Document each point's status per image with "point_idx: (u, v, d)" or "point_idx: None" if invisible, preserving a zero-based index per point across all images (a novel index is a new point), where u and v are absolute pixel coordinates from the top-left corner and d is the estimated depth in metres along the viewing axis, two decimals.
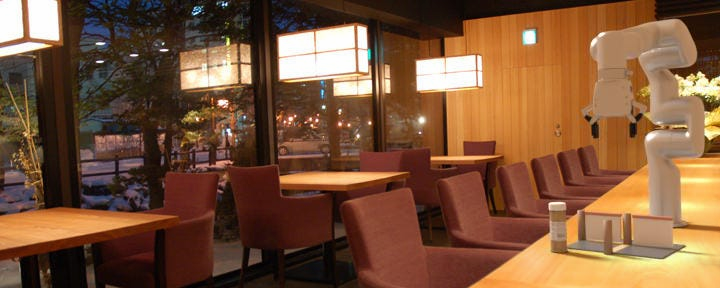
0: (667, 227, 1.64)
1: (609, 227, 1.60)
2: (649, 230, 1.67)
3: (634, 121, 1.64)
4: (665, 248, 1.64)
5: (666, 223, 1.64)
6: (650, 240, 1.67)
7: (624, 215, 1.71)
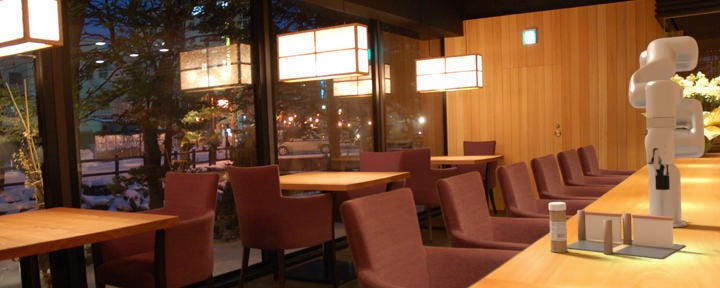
0: (667, 227, 1.64)
1: (609, 227, 1.60)
2: (649, 230, 1.67)
3: (668, 174, 1.71)
4: (665, 248, 1.64)
5: (666, 223, 1.64)
6: (650, 240, 1.67)
7: (624, 215, 1.71)
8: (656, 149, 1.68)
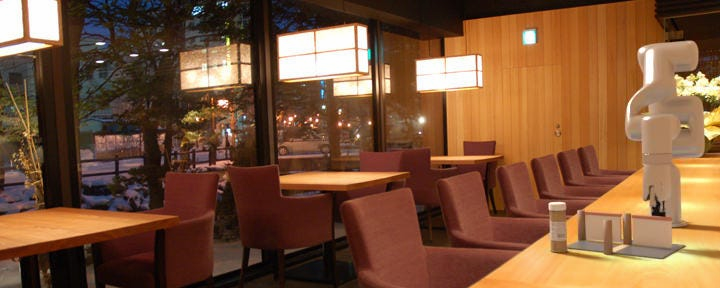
0: (666, 227, 1.63)
1: (609, 227, 1.60)
2: (648, 230, 1.67)
3: (664, 210, 1.68)
4: (665, 248, 1.64)
5: (664, 224, 1.63)
6: (649, 240, 1.66)
7: (624, 215, 1.71)
8: (652, 186, 1.65)
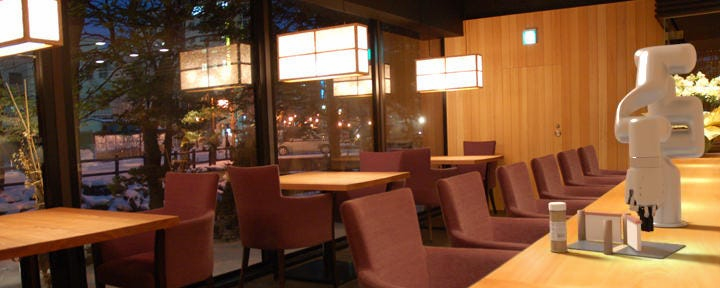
0: (635, 230, 1.61)
1: (609, 227, 1.60)
2: (631, 231, 1.65)
3: (653, 215, 1.63)
4: (665, 248, 1.64)
5: (635, 226, 1.61)
6: (631, 242, 1.65)
7: (624, 215, 1.71)
8: (633, 190, 1.62)
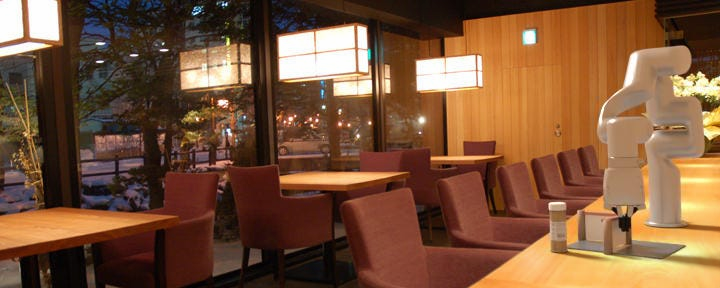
0: None
1: (609, 227, 1.60)
2: None
3: (629, 215, 1.63)
4: (665, 248, 1.64)
5: None
6: None
7: None
8: None
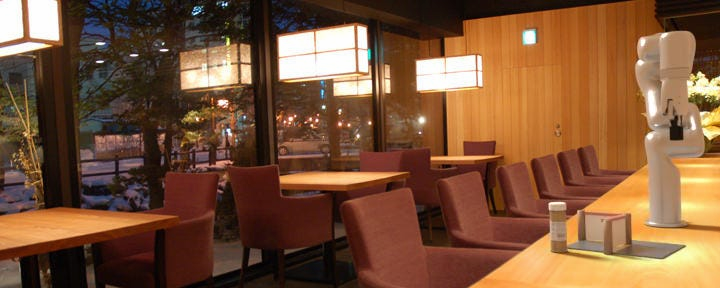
0: None
1: (609, 227, 1.60)
2: None
3: (682, 124, 1.73)
4: (665, 248, 1.64)
5: None
6: None
7: None
8: (670, 100, 1.69)
